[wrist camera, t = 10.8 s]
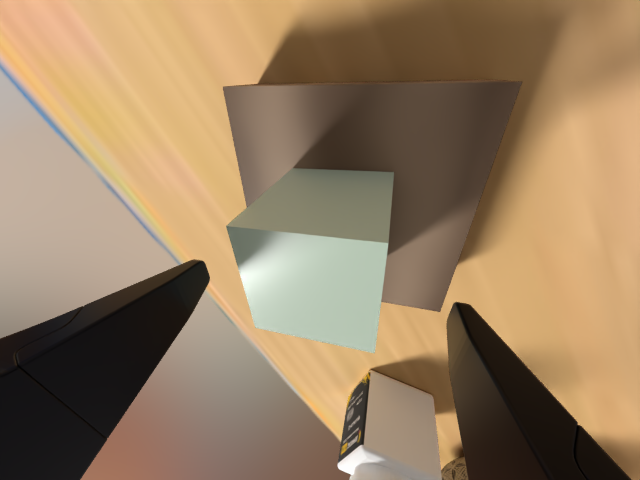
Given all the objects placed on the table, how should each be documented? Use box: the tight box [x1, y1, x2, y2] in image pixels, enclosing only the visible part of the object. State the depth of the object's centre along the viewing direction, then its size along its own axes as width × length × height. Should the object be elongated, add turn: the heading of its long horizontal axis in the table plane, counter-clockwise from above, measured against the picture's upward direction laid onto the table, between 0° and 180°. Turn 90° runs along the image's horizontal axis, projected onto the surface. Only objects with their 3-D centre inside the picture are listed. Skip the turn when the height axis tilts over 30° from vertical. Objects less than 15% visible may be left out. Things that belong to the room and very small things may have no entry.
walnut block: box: [223, 80, 522, 312], centre depth 15 cm, size 12×12×4 cm
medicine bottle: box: [338, 370, 442, 480], centre depth 24 cm, size 7×7×12 cm
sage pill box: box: [226, 168, 394, 353], centre depth 11 cm, size 5×5×6 cm
